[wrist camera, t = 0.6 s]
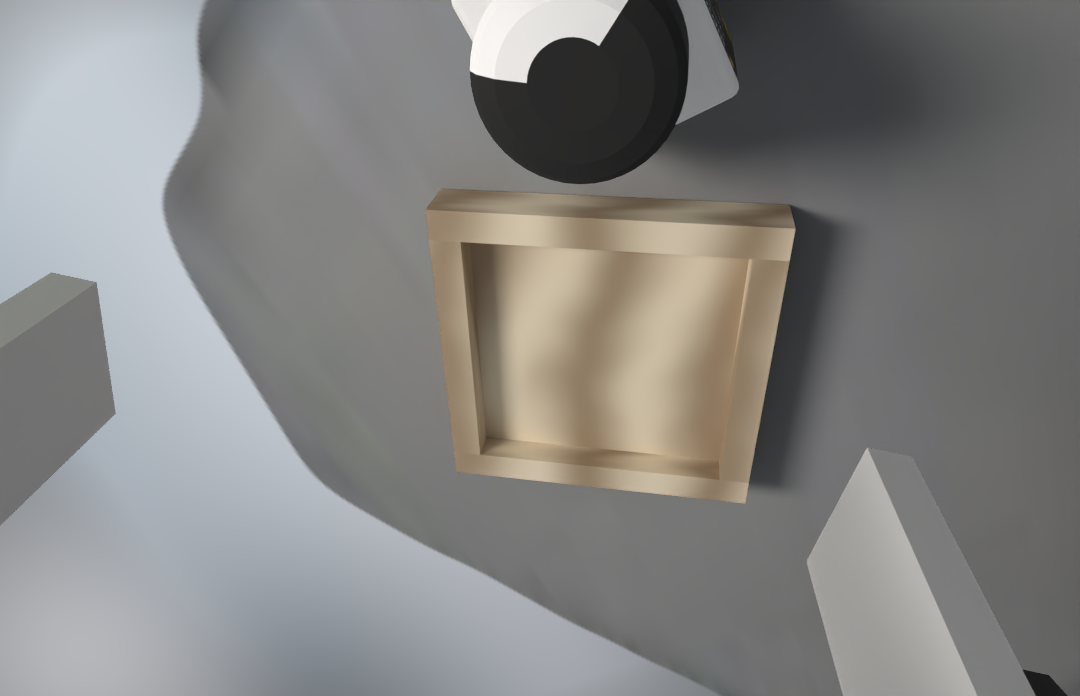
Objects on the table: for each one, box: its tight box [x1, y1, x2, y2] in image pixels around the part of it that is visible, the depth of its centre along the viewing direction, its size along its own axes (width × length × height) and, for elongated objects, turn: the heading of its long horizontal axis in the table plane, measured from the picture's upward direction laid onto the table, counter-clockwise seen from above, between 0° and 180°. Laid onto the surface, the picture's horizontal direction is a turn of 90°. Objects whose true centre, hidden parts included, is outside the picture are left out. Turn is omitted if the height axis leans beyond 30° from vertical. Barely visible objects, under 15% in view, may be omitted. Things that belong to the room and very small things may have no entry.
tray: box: [425, 189, 796, 503], centre depth 37 cm, size 16×16×2 cm
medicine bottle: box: [451, 0, 739, 184], centre depth 25 cm, size 7×7×12 cm
